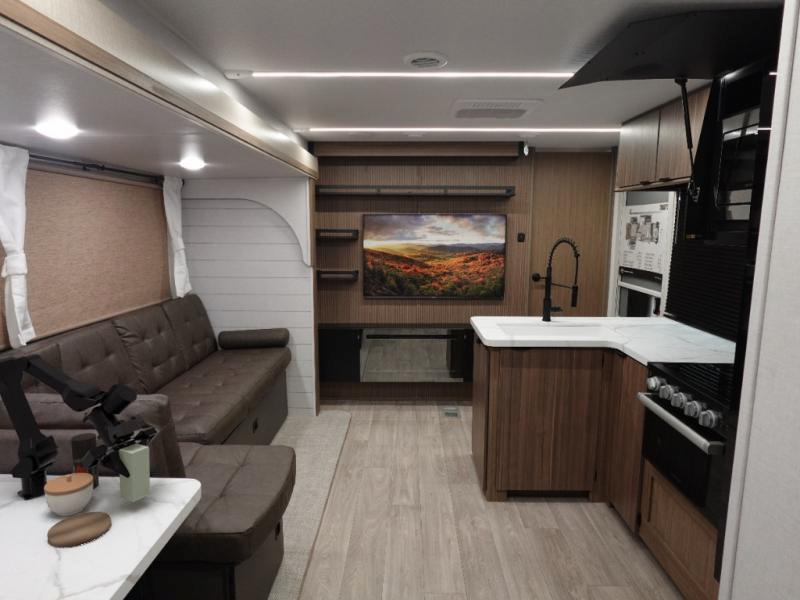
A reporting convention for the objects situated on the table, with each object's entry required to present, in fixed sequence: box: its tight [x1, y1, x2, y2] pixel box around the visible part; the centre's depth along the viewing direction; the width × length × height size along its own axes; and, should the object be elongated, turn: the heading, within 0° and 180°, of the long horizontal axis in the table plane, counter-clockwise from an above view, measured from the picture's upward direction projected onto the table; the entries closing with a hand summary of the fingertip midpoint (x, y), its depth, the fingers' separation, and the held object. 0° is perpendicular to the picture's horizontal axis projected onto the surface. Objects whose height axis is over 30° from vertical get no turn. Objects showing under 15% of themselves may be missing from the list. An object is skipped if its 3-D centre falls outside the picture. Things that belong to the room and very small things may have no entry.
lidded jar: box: [44, 472, 94, 517], centre depth 131 cm, size 11×11×9 cm
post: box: [119, 444, 151, 503], centre depth 132 cm, size 5×5×13 cm
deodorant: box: [70, 432, 100, 490], centre depth 143 cm, size 6×6×15 cm
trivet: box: [46, 511, 112, 549], centre depth 121 cm, size 13×13×2 cm
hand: (138, 472), depth 132 cm, fingers closed on post, 5 cm apart
